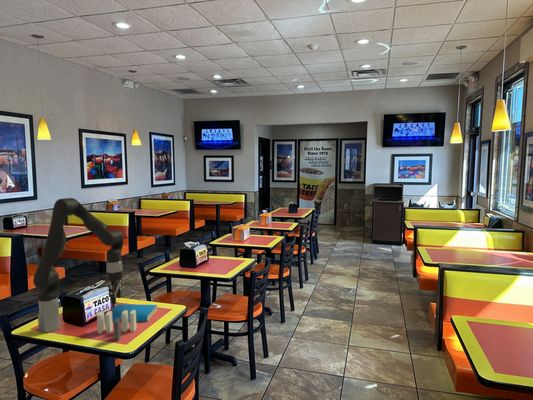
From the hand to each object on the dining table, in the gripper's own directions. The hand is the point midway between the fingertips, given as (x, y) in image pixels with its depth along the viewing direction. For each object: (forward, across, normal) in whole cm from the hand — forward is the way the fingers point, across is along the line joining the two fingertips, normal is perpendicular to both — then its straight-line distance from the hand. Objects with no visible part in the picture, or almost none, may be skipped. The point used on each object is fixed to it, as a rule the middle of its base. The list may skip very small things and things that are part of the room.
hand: (116, 300), depth 190 cm
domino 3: (+20, 0, 0) cm, 20 cm away
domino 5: (+20, -10, +5) cm, 23 cm away
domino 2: (+20, -10, -7) cm, 24 cm away
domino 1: (+20, -10, -12) cm, 25 cm away
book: (+21, -30, 0) cm, 36 cm away
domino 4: (+20, -10, +1) cm, 22 cm away
